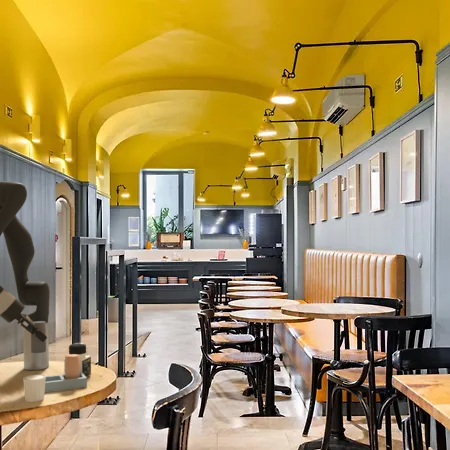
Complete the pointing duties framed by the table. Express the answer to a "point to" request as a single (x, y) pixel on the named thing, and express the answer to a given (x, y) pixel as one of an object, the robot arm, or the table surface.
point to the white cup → (34, 387)
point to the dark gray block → (37, 344)
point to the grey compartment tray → (67, 376)
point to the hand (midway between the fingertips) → (44, 338)
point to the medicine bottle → (81, 358)
